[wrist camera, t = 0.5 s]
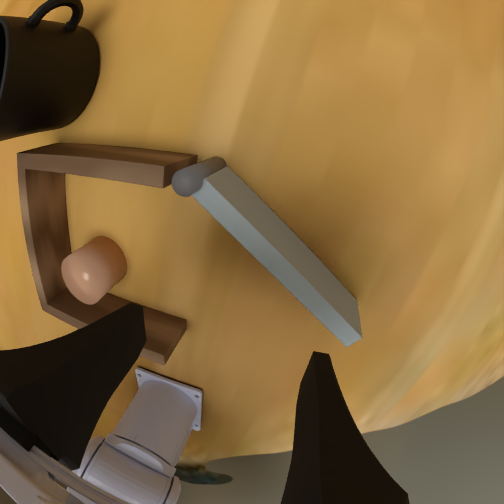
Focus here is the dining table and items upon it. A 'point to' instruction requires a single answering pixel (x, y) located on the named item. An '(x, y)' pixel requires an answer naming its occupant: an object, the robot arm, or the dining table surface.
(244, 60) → the dining table surface
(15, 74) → the mug
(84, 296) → the tan rounded cylinder
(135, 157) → the cubby
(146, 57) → the dining table surface
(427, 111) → the dining table surface
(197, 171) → the door
